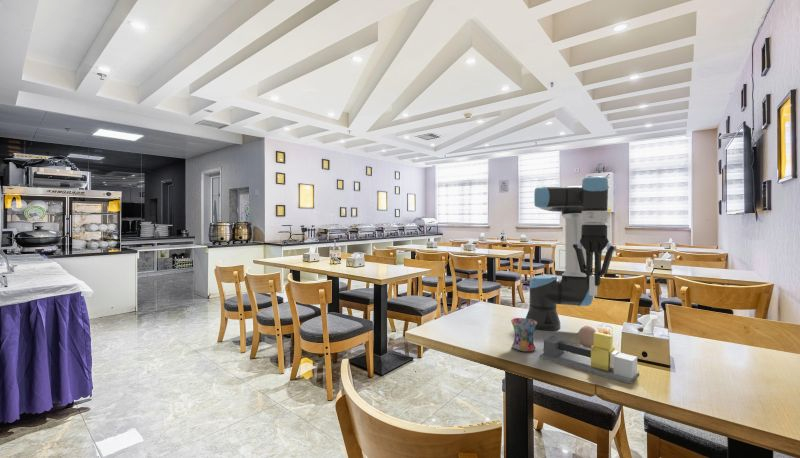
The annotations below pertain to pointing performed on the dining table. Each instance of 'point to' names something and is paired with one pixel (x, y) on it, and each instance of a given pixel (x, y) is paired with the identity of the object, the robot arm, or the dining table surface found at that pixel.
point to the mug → (523, 334)
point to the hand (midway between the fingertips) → (593, 294)
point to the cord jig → (619, 362)
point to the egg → (586, 336)
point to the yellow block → (601, 351)
